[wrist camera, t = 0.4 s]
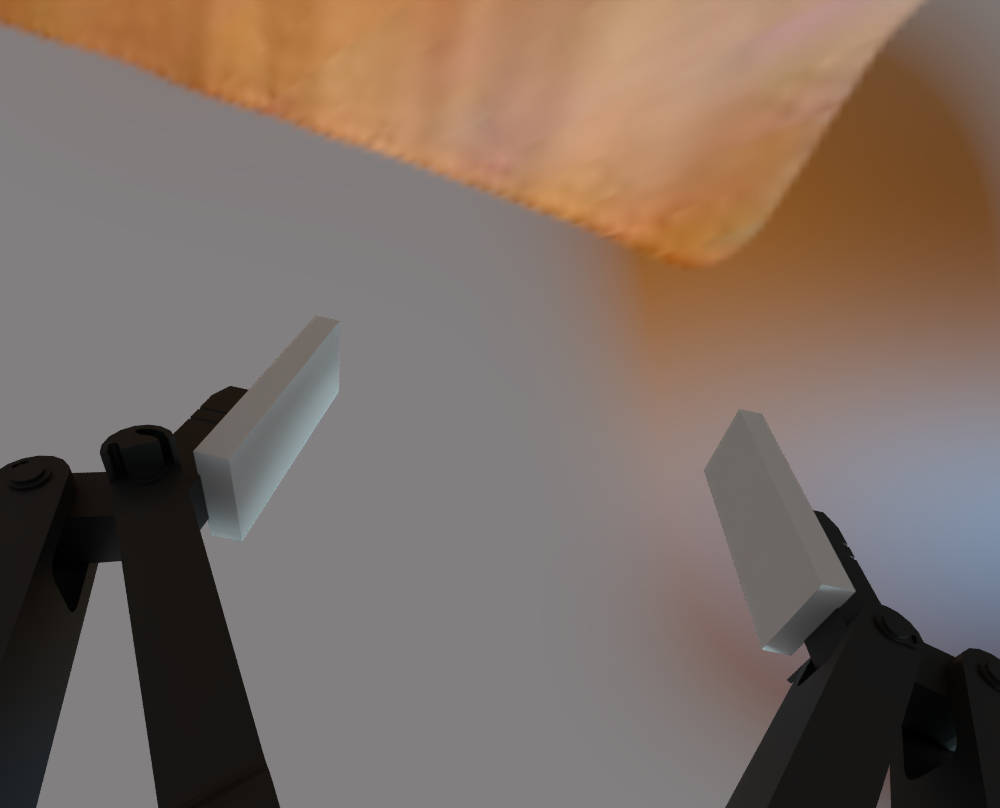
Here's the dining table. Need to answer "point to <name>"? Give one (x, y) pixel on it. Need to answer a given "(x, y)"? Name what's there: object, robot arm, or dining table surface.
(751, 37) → the dining table surface
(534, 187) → the dining table surface
